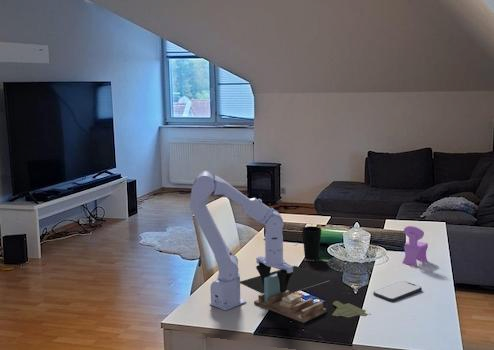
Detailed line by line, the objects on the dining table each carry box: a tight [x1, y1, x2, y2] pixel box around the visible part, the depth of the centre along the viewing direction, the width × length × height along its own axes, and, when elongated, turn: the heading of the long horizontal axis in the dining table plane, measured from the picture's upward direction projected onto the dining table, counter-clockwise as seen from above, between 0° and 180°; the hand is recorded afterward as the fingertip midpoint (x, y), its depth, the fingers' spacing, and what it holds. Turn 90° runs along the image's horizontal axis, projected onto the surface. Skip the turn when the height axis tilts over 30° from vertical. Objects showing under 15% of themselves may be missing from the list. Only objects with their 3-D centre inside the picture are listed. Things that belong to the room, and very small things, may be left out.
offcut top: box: [282, 293, 302, 304], centre depth 185 cm, size 5×4×1 cm
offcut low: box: [280, 299, 304, 309], centre depth 184 cm, size 6×4×1 cm
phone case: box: [373, 280, 423, 303], centre depth 195 cm, size 9×2×16 cm
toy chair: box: [401, 225, 429, 267], centre depth 224 cm, size 8×9×15 cm
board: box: [264, 273, 281, 302], centre depth 189 cm, size 8×2×8 cm, turn 134°
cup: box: [301, 226, 322, 261], centre depth 232 cm, size 8×8×12 cm
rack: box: [253, 290, 328, 324], centre depth 184 cm, size 11×21×3 cm, turn 44°
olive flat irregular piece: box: [331, 300, 372, 319], centre depth 179 cm, size 11×18×1 cm, turn 36°
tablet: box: [240, 265, 331, 294], centre depth 208 cm, size 27×1×20 cm
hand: (274, 288), depth 189 cm, fingers open, 7 cm apart
